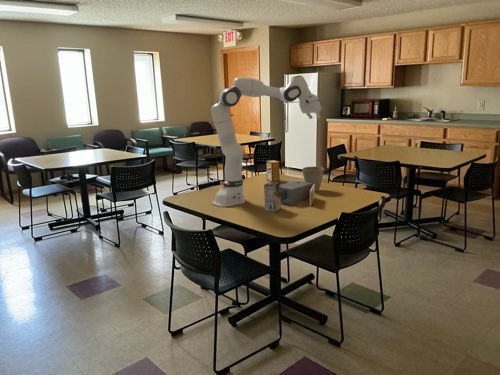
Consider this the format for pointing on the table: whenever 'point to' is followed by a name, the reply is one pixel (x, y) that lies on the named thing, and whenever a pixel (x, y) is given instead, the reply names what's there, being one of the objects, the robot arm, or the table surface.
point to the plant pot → (313, 176)
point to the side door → (312, 194)
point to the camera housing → (295, 192)
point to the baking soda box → (272, 171)
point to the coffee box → (272, 196)
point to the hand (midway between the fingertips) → (314, 118)
